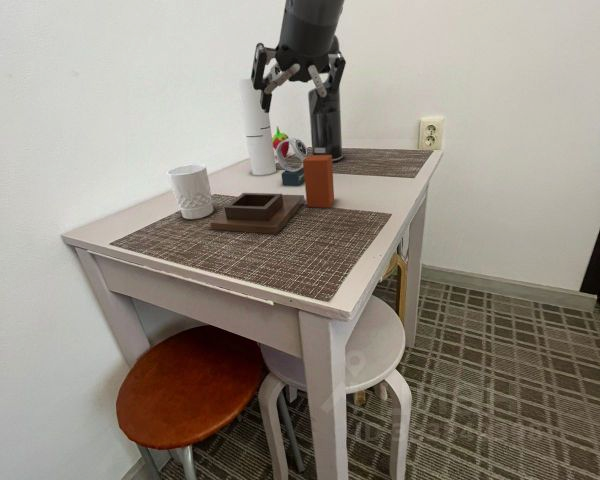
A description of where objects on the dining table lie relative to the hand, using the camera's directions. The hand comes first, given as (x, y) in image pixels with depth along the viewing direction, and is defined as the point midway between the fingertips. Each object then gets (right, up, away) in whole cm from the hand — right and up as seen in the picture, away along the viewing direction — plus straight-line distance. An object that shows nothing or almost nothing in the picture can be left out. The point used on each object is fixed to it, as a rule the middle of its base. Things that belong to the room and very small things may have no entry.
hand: (289, 110), depth 57 cm
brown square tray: (-6, -17, +11) cm, 22 cm away
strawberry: (-4, +6, +55) cm, 55 cm away
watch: (+1, -8, +29) cm, 29 cm away
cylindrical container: (-9, -2, +40) cm, 41 cm away
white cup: (-21, -17, +15) cm, 31 cm away
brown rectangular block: (+6, -15, +13) cm, 21 cm away
